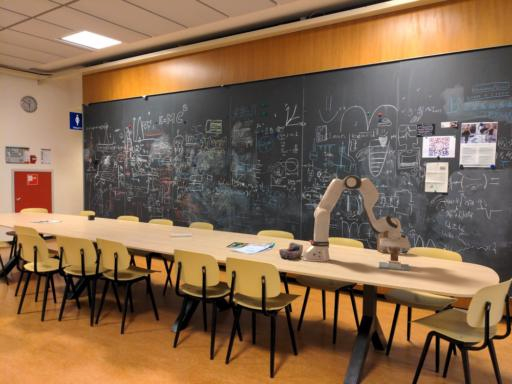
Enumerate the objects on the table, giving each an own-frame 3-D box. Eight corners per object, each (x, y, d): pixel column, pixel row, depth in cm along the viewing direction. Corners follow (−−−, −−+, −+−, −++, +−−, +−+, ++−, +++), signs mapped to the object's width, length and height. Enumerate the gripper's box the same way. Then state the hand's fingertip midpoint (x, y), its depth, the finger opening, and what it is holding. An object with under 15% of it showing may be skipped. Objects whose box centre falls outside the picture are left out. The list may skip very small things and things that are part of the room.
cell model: (305, 242, 297) (291, 247, 281) (304, 256, 298) (291, 261, 282) (290, 240, 305) (277, 244, 289) (290, 253, 306) (276, 258, 290)
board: (378, 268, 264) (379, 263, 264) (379, 263, 279) (379, 259, 279) (409, 271, 258) (410, 266, 258) (408, 266, 273) (408, 261, 273)
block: (382, 253, 315) (383, 229, 314) (376, 251, 325) (377, 227, 324) (393, 253, 317) (394, 229, 316) (387, 250, 327) (388, 227, 326)
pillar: (390, 260, 267) (390, 248, 266) (390, 259, 271) (390, 246, 271) (398, 261, 265) (398, 248, 265) (397, 259, 270) (398, 247, 269)
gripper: (379, 234, 277) (379, 250, 268) (409, 236, 271) (410, 252, 262) (379, 239, 282) (378, 255, 273) (409, 241, 275) (409, 257, 266)
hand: (394, 253), depth 267 cm, fingers closed on pillar, 5 cm apart
